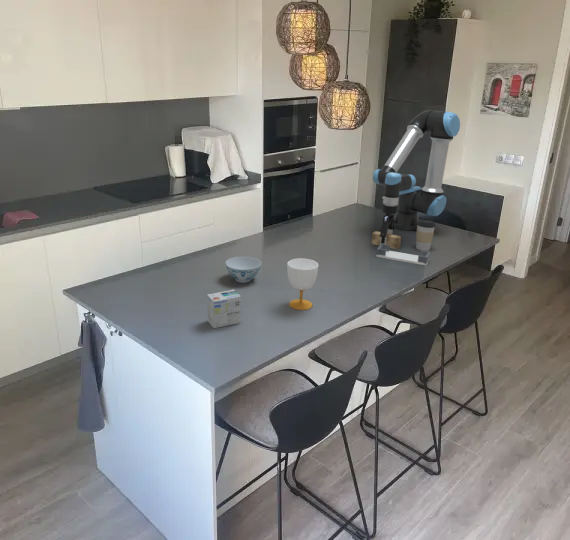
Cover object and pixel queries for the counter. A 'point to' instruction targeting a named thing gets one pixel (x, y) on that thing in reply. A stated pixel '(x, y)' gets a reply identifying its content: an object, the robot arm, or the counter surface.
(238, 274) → the chinaware
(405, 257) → the holder
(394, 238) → the tan rectangular block
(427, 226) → the coffee cup
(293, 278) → the cup
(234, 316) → the light bulb box
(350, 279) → the counter surface
